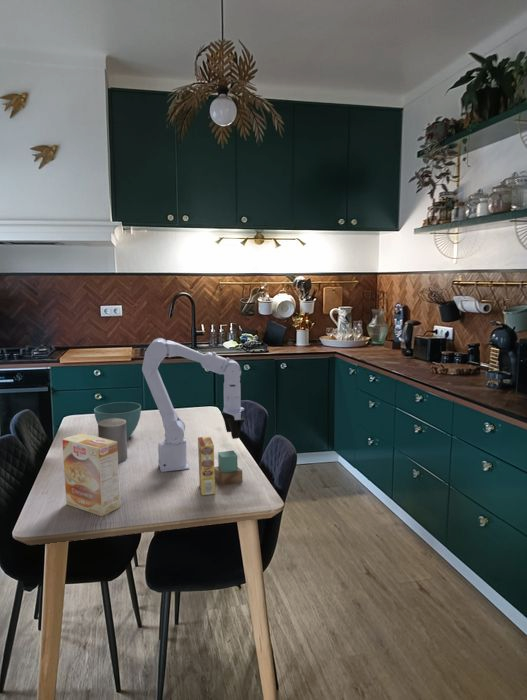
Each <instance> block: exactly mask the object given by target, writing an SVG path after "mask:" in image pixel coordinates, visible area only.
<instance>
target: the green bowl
mask: <svg viewBox="0 0 527 700" xmlns="http://www.w3.org/2000/svg"><path fill="white" fill-rule="evenodd" d="M141 412H142V405H141V404H140V403H137V402H130V401H128V402H127V401H119V402H109V403H105V404H101V405H98V406H96V407H95V408H94V409H93V413H94V417H95V420H96V423H97V424H98V423H99V422H100V421H102V420H106V419H111V418H112V419H113V418H117V419H123V420H126V434H127V439H128V438H130V437H131V435H132V434H134V432H135V430H136V428H137V426H138V424H139V421H140V418H141Z"/></svg>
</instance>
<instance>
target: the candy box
mask: <svg viewBox="0 0 527 700" xmlns="http://www.w3.org/2000/svg"><path fill="white" fill-rule="evenodd" d="M197 449H198V451H197V452H198V453H197V455H198V477H199V478H198V481H199V487H200V493H201V495H202V496H209V495H215V494H216V480H215V470H214V467H215V445H214V443H213V440H212V437H211V436H201V437H199V436H198V438H197Z"/></svg>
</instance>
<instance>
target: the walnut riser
mask: <svg viewBox="0 0 527 700" xmlns="http://www.w3.org/2000/svg"><path fill="white" fill-rule="evenodd" d="M214 470H215V482H217V483H218V484H219V485H220V486H221V487H224V486H230V485H234V484H240V483H242V482H243V470H242V469H241V468H240V467H238V471H233V472H225V473H222V472H221V470H220V469H219V467H218V466H214Z"/></svg>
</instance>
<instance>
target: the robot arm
mask: <svg viewBox="0 0 527 700" xmlns="http://www.w3.org/2000/svg"><path fill="white" fill-rule="evenodd" d="M166 356H168V358H172V357H177V356H178V357H182V358H185V359H187V360H189V361H190V360H191V361H194V362H196V363H200V365H201V367H202V368H203V369H205V370H207V371H210V372H213V373H216V374H218V375H223V378H224V382H223V409H222V410H223V411H221V412H220V414H221V416H222V419H223V421H224V427H225V430H226V433H230V434H231V438H232V439H233V440H237V439H239V438H240V436H241V435H240V434H241V430H242V426H243V424H244V422H245V418H244V417H242V413H241V412H242V411H245V408H244V407H242V406H241V405H242V404H241V403H242V401H241V398H242V397H241V394H242V392H241V385H242V384H241V382H240V381H241V376H242V370H241V366H240V364H239V363H238V362H237V361H236V360H234V359H230V357H226V358H225V357H223V356H220V355H218V354H217V352H215V351H212V352H210V351H208V352H206V353H202V352H199V351H198V350H195V349H192V348H190V347H188V346H186V345H183V344H181V343H179V342H176V341H172V340H171V339H169V340H168V339H167V340H166V339H165V338H163V337H158V338H155V339H154V340H152V342H151V343H150V344H149V345H148V347H147V348H146V350H145V352H144V357H143V362H142V367H141V372H142V373H143V376H144V379H145V381H146V383H147V386H148V388H149V390H150V393H151V396H152V398H153V400H154V402H155V405H156V407H157V409H158V412H159V415H160V417H161V421H162V424H163V428H164V438H165V439H164V441H161V442H159V443H157V444H158V447H157V449H158V451H157V452H158V460H157V461H158V466H159V469H160V471H161V473H163V472H164V473H165V472H171V471H180V470H188V469H190V465H189V464H188V462H187V461H188V459H187V457H188V456H187V438H186V437H185V431H186V425H185V422H184V421H183V420H181V418H180V417H179V415H178V413H177V412H176V410H175V408H174V405H173V403H172V401H171V398H170V396H169V393H168V390H167V388H166V386H165V384H164V382H163V379H162V376H161V373H160V372H159V367H160V364H161V362H162V361H164V359H165V358H166Z"/></svg>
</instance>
